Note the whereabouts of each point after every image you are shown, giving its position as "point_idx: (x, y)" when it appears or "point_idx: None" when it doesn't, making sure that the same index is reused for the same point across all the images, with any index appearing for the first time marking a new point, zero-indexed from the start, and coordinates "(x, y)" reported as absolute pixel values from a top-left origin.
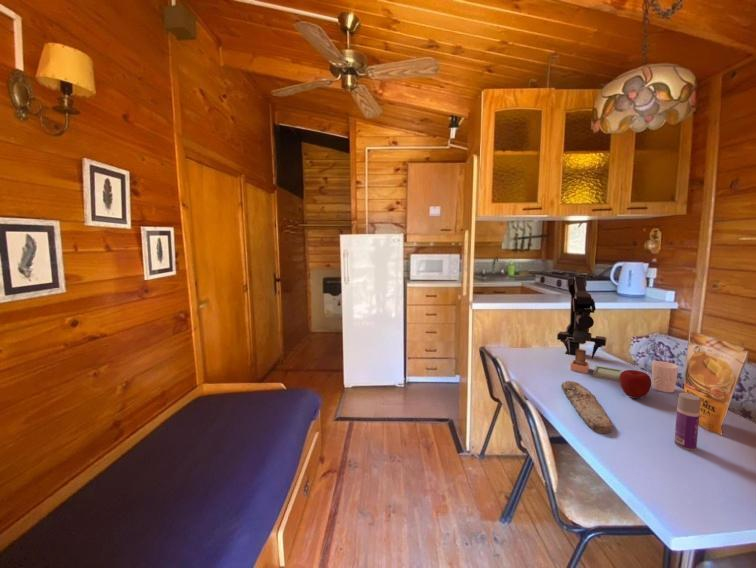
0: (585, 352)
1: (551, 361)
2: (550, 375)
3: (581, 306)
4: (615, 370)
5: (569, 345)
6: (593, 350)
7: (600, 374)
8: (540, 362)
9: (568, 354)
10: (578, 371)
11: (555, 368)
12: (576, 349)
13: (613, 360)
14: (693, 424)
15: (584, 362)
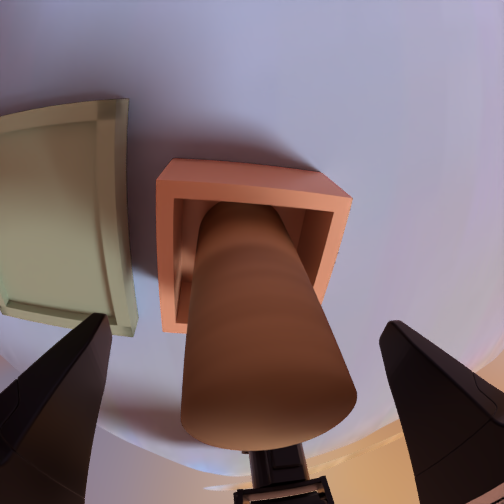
0: (184, 391)
1: (407, 317)
2: (450, 29)
3: None
4: (25, 305)
5: (414, 446)
6: (24, 415)
7: (66, 164)
8: (465, 268)
9: (400, 323)
10: (254, 167)
11: (419, 193)
12: (335, 421)
13: (111, 427)
14: None
15: (199, 261)
